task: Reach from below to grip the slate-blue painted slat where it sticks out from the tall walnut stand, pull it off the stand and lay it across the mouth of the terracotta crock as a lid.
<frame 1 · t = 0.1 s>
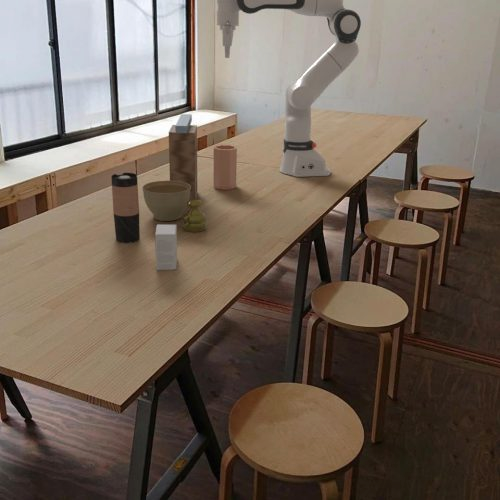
hand: (227, 56, 243), 48 cm above the table, tool pointing down, fingers open, 8 cm apart
planter bowl: (167, 217, 201), on the table
olive green tiered figure: (194, 229, 192), on the table
stand: (184, 197, 222), on the table
lid slat: (184, 126, 216), point 26 cm above the table, touching stand
travel mug: (127, 239, 182), on the table
small box: (166, 265, 165), on the table
crock: (224, 186, 237), on the table
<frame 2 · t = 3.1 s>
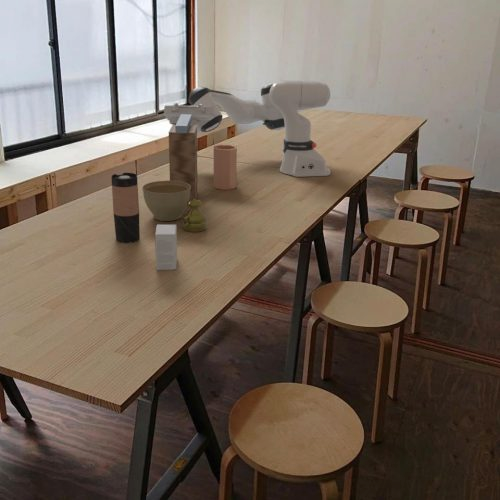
hand: (188, 105, 234), 30 cm above the table, tool pointing upward, fingers open, 8 cm apart
nothing on the table moved.
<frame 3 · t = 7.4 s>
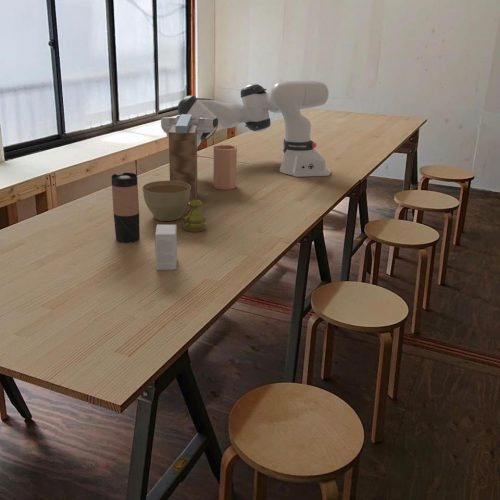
hand: (185, 117, 224), 28 cm above the table, tool pointing upward, fingers closed on lid slat, 4 cm apart
lid slat: (184, 126, 216), point 26 cm above the table, touching gripper, stand
everything else where it was.
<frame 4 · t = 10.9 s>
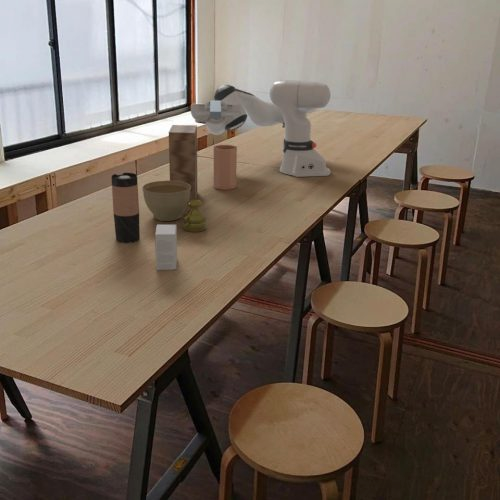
hand: (215, 103, 233), 32 cm above the table, tool pointing upward, fingers closed on lid slat, 4 cm apart
lid slat: (215, 112, 225), point 30 cm above the table, touching gripper
everything else where it was.
when the fingers open (19 cm above the table, at t = 14.4 s): lid slat drops 1 cm, resting on crock.
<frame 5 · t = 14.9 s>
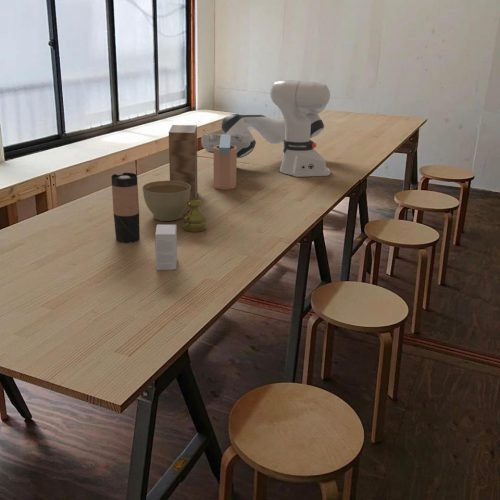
hand: (225, 134, 238), 19 cm above the table, tool pointing upward, fingers open, 8 cm apart
lid slat: (225, 147, 231), point 16 cm above the table, touching crock
everything else where it was.
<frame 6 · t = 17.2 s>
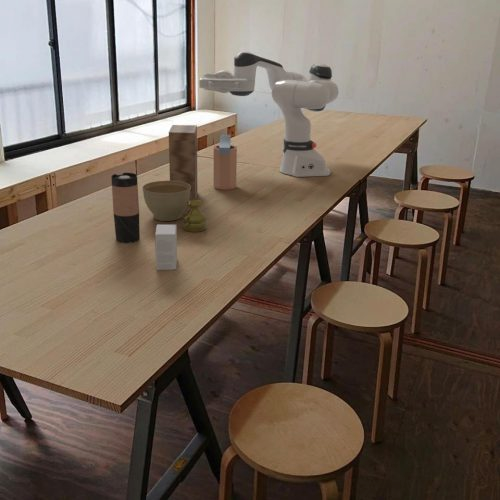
hand: (223, 85, 239), 38 cm above the table, tool horizontal, fingers open, 8 cm apart
nothing on the table moved.
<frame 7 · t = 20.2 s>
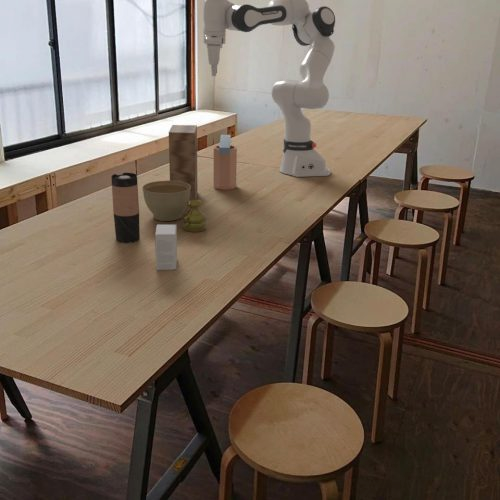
hand: (214, 74, 242), 41 cm above the table, tool pointing down, fingers open, 8 cm apart
nothing on the table moved.
at the end: lid slat inside the target area on the crock (0.1 cm from its centre), point 16.0 cm above the crock's base; the gripper is holding nothing; lid slat touching crock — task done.
